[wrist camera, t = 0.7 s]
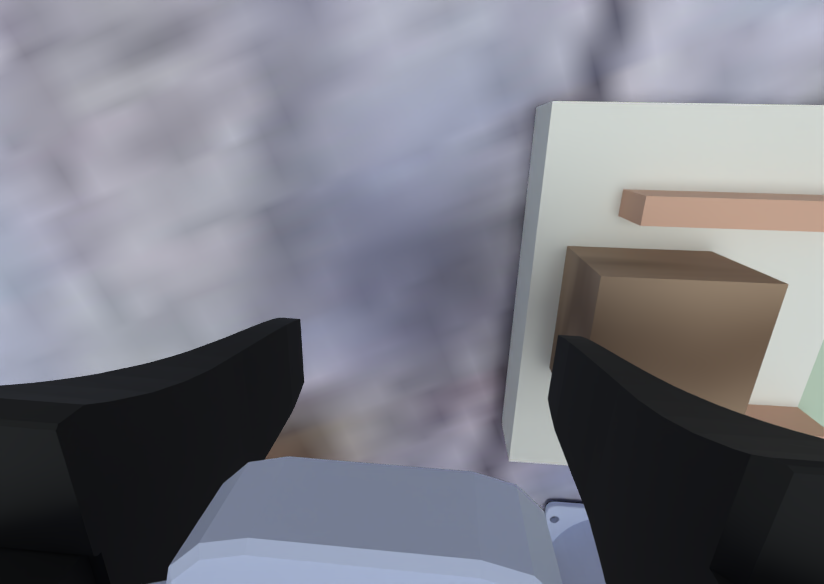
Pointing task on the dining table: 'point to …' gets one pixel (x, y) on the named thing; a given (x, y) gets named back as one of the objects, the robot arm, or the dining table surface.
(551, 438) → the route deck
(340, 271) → the dining table surface
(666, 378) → the walnut block
